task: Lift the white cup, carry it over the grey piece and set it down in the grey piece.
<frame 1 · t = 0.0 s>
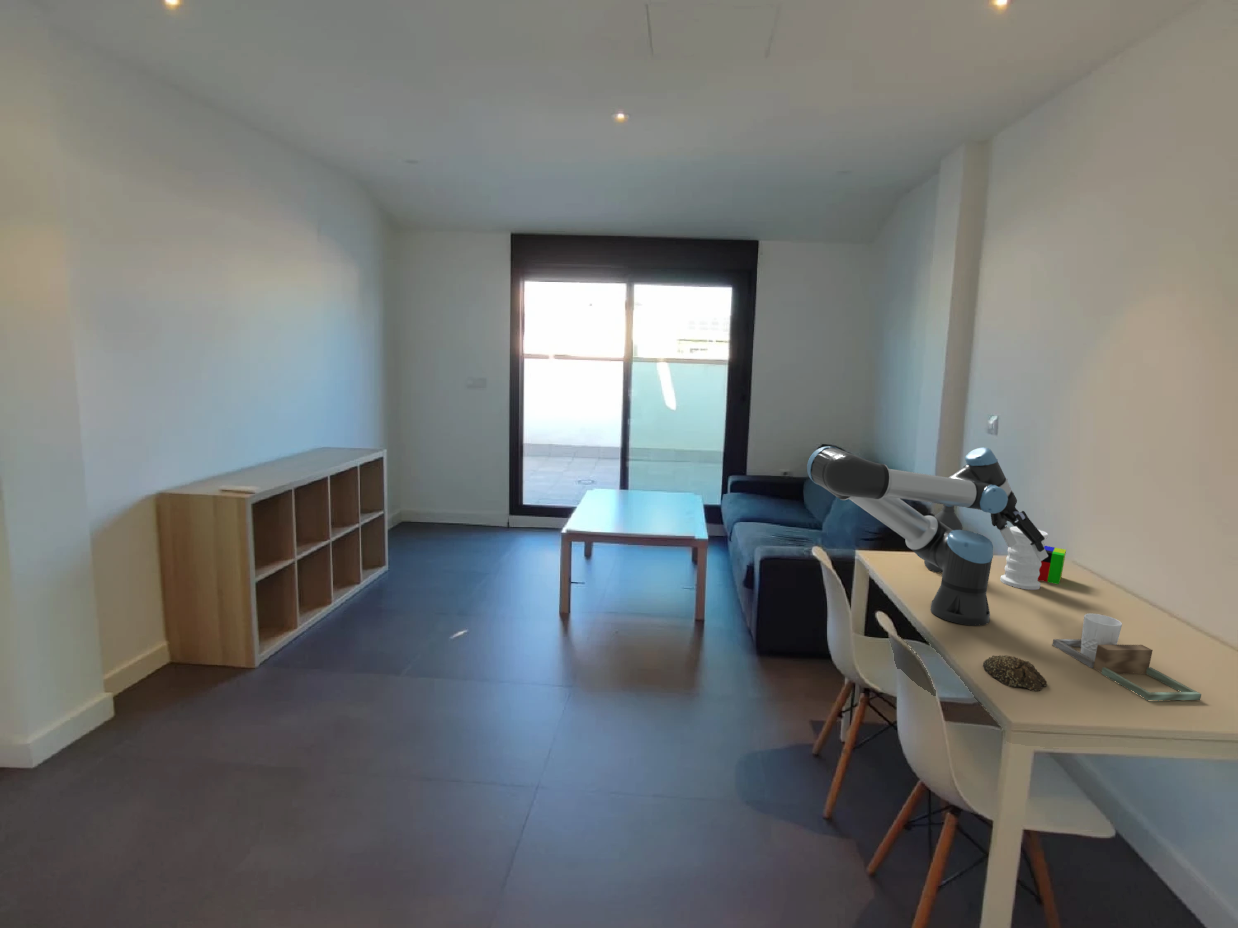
hand: (1027, 551, 216), 15 cm above the table, tool tilted 35°, fingers open, 13 cm apart
decorative container: (1019, 584, 235), on the table
bread roll: (1015, 679, 164), on the table
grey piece: (1120, 670, 172), on the table
liquor: (939, 569, 246), on the table
white cup: (1095, 657, 179), resting in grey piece
puzzle toy: (1042, 578, 244), on the table
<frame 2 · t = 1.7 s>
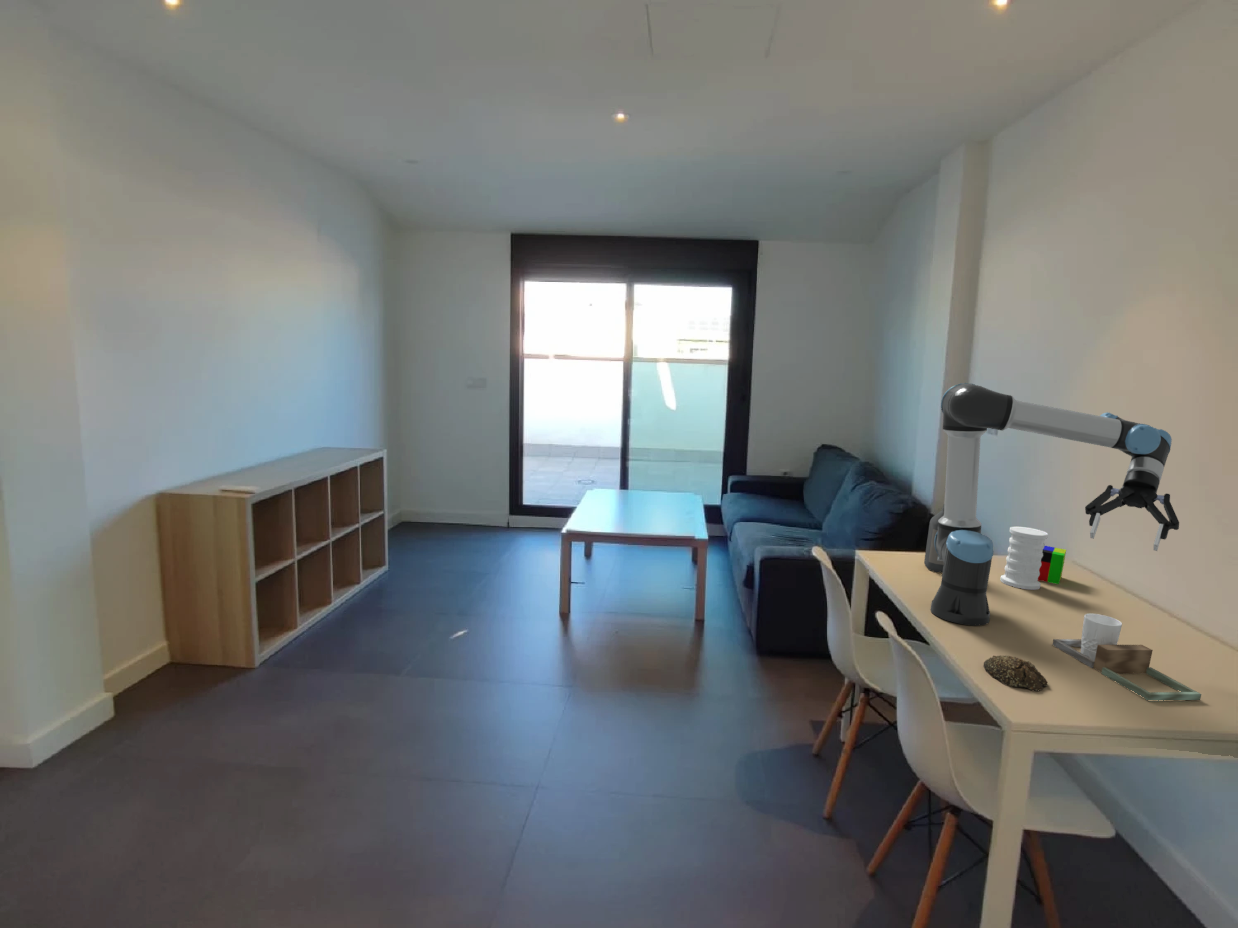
hand: (1122, 541, 183), 28 cm above the table, tool tilted 45°, fingers open, 13 cm apart
nothing on the table moved.
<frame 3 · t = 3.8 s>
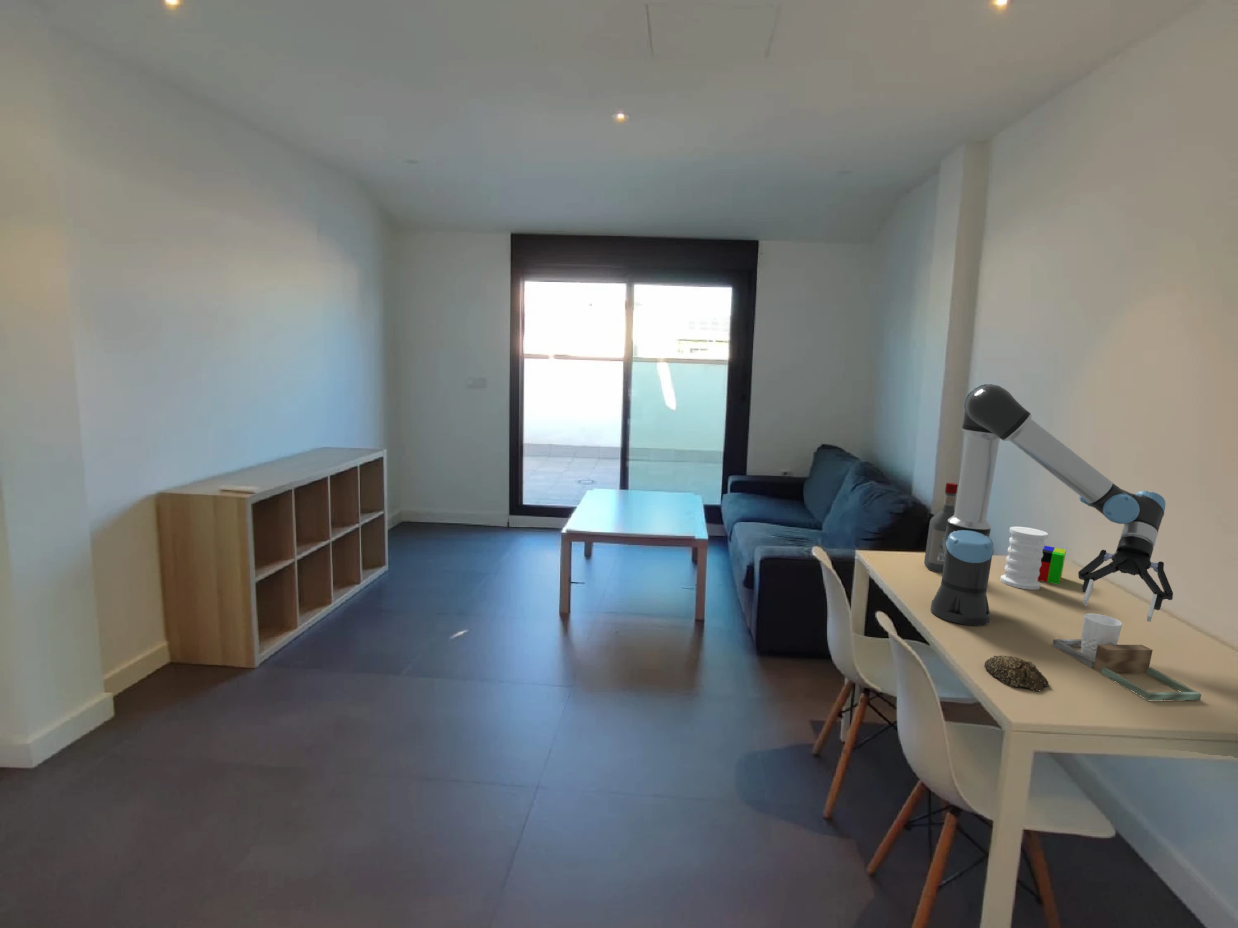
hand: (1116, 610, 181), 11 cm above the table, tool tilted 45°, fingers open, 13 cm apart
nothing on the table moved.
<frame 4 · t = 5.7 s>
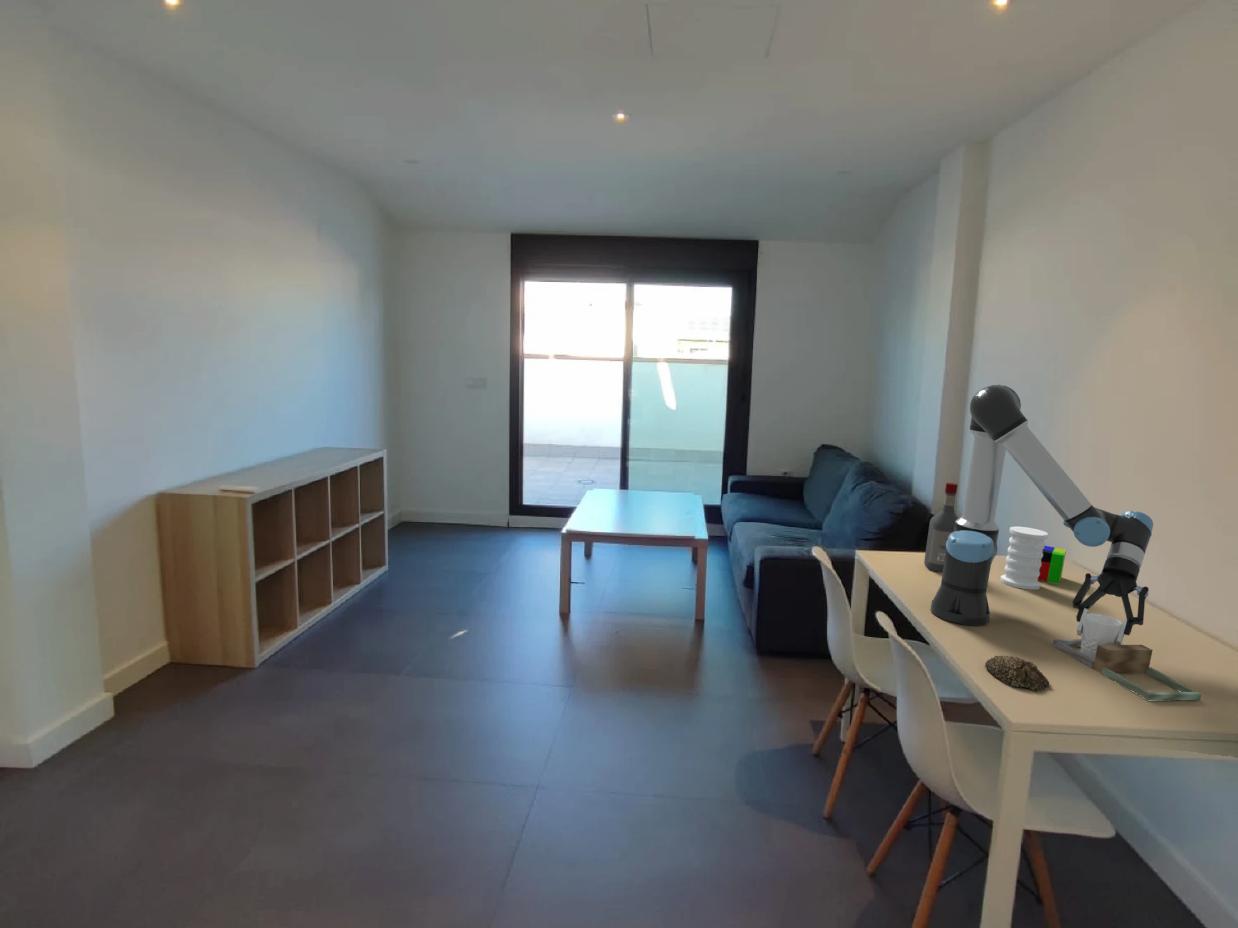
hand: (1098, 638, 177), 5 cm above the table, tool tilted 45°, fingers closed on white cup, 8 cm apart
white cup: (1095, 657, 179), resting in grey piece, touching gripper
everything else where it was.
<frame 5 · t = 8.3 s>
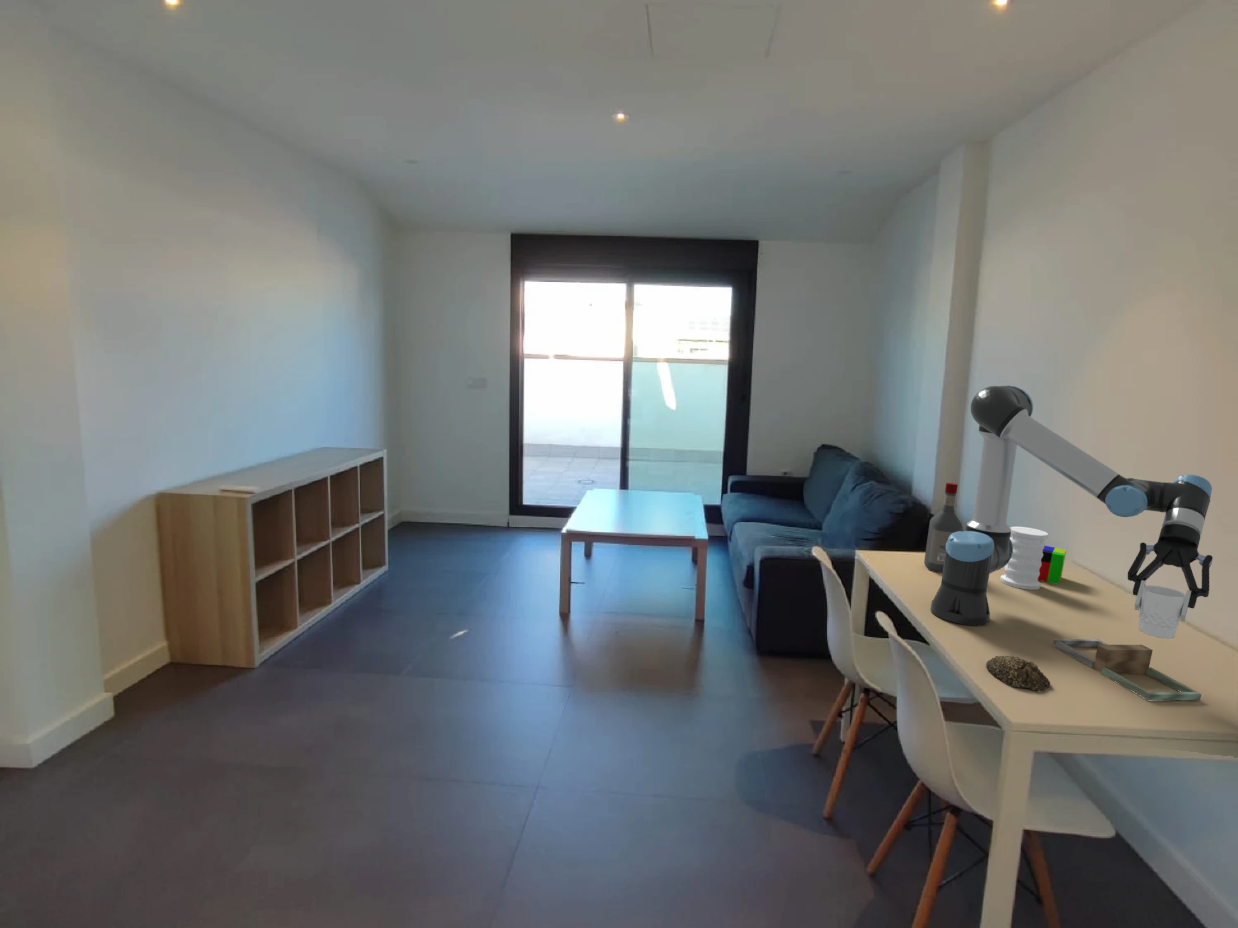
hand: (1159, 612, 161), 18 cm above the table, tool tilted 45°, fingers closed on white cup, 8 cm apart
white cup: (1155, 633, 163), point 12 cm above the table, touching gripper
everything else where it was.
when the fingers open (6 cm above the table, at t = 11.0 s): white cup drops 1 cm, resting in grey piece.
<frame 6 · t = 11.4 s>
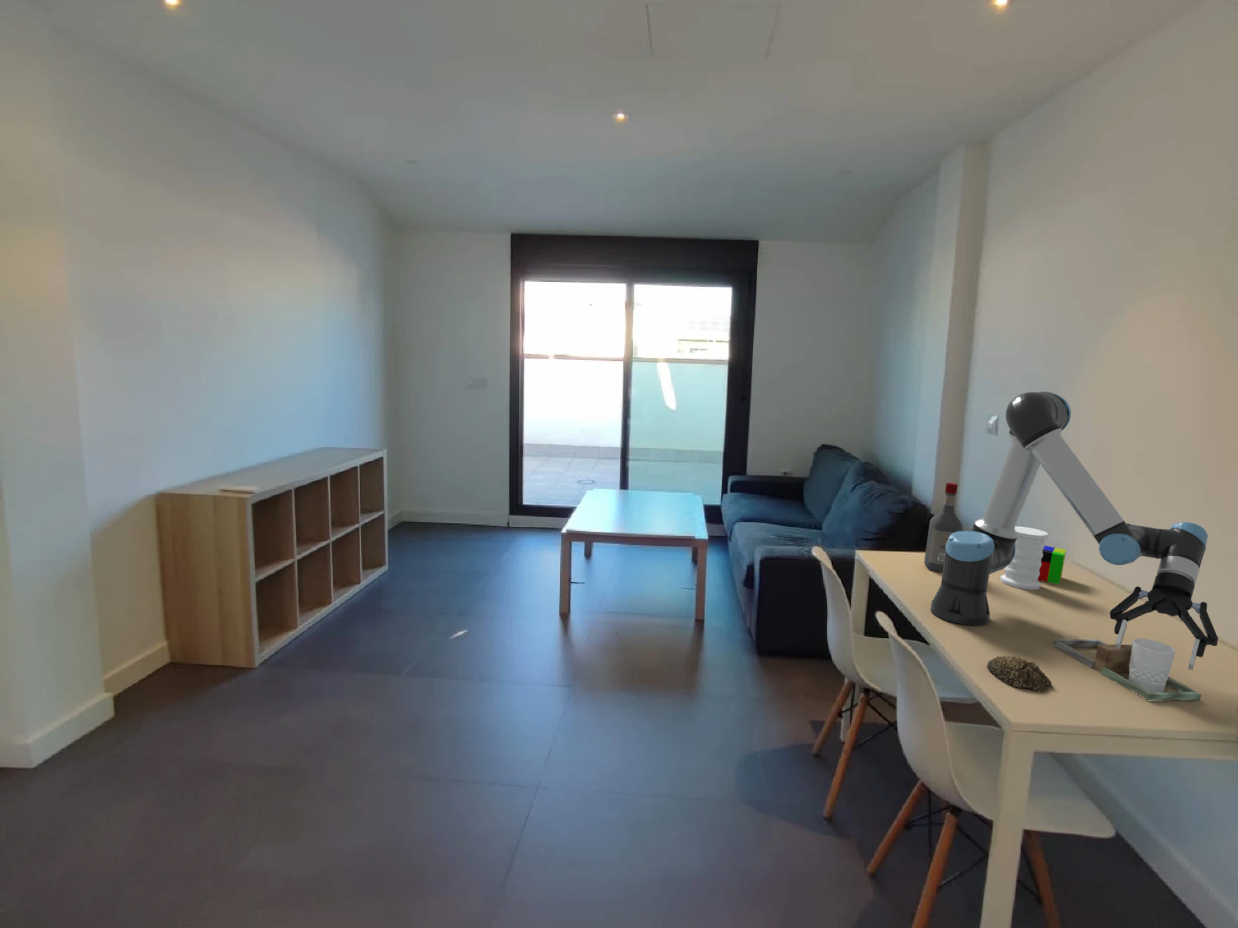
hand: (1153, 656, 162), 8 cm above the table, tool tilted 45°, fingers open, 13 cm apart
white cup: (1145, 687, 164), resting in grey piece
everything else where it was.
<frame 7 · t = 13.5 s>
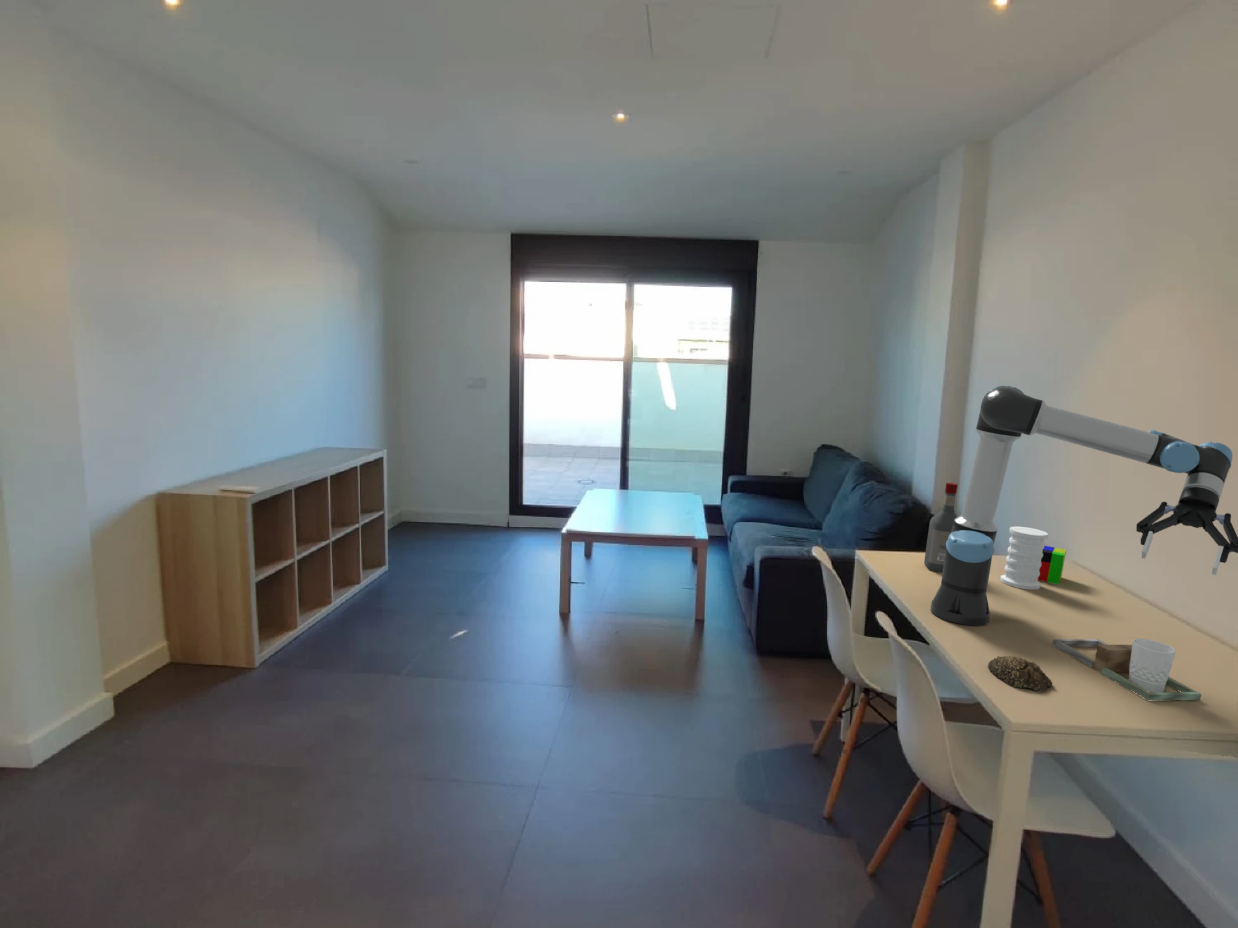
hand: (1177, 563, 170), 27 cm above the table, tool tilted 45°, fingers open, 13 cm apart
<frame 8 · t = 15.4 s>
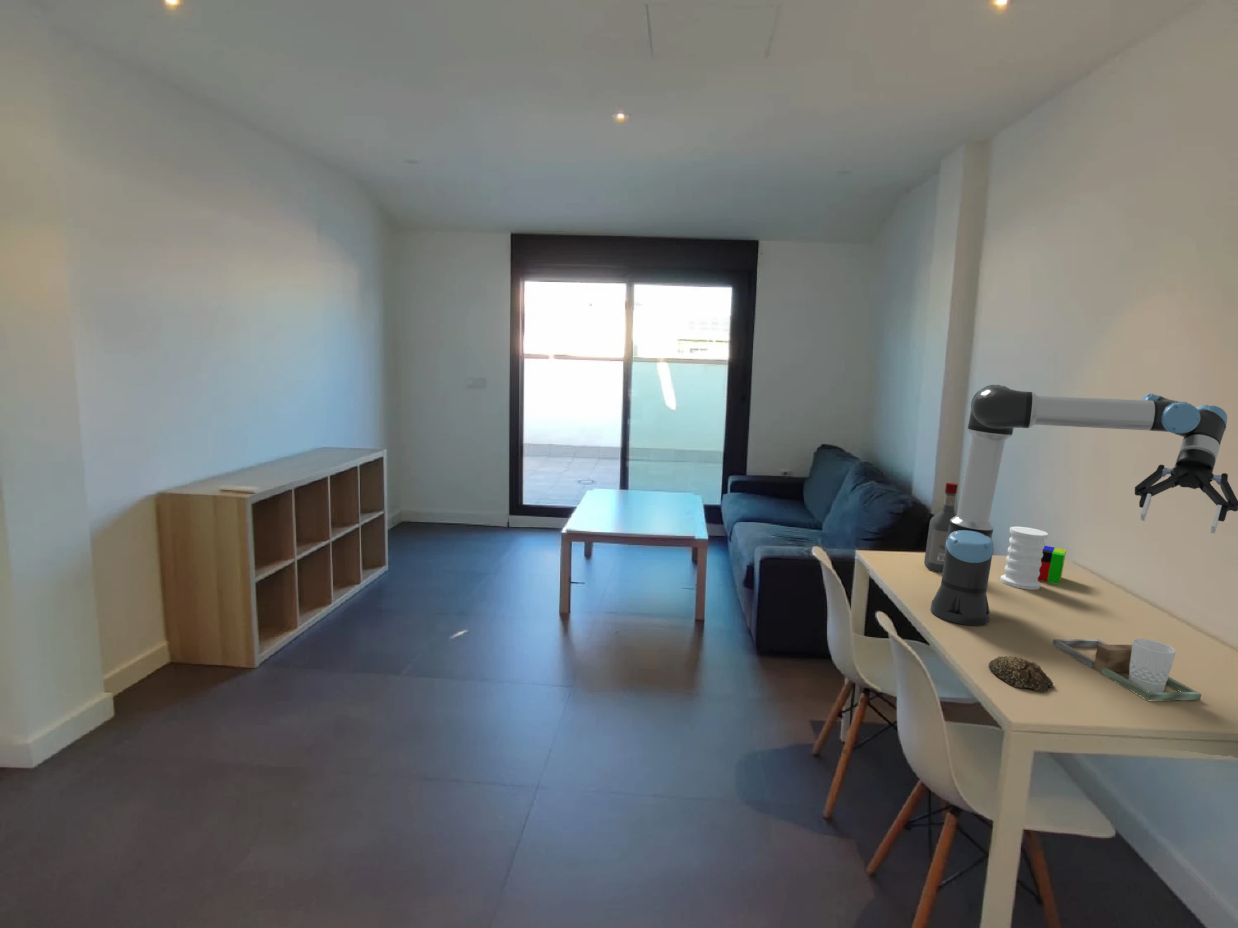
hand: (1176, 523, 172), 36 cm above the table, tool tilted 45°, fingers open, 13 cm apart
at the end: white cup inside the target area on the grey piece (0.8 cm from its centre), point 0.0 cm above the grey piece's base; white cup tilted 0°; the gripper is holding nothing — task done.
